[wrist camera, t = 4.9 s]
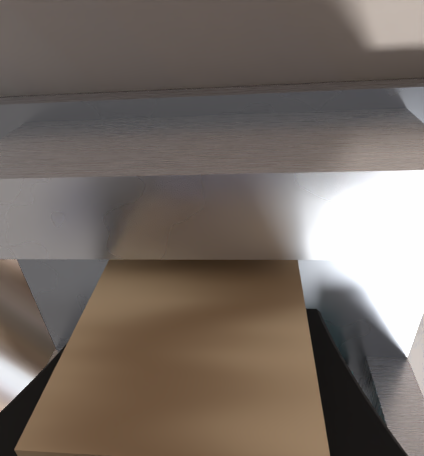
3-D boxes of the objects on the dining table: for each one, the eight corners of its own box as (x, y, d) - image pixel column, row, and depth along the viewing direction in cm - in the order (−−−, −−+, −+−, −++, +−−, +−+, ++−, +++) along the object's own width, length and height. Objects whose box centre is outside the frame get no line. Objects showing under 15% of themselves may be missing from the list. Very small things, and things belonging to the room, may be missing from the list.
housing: (292, 224, 10) (332, 467, 5) (285, 340, 13) (307, 580, 8) (126, 225, 11) (14, 450, 6) (150, 336, 13) (88, 562, 8)
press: (483, 75, 10) (677, 163, 5) (366, 450, 20) (398, 585, 15) (-33, 98, 11) (-217, 182, 7) (105, 436, 21) (68, 556, 17)
